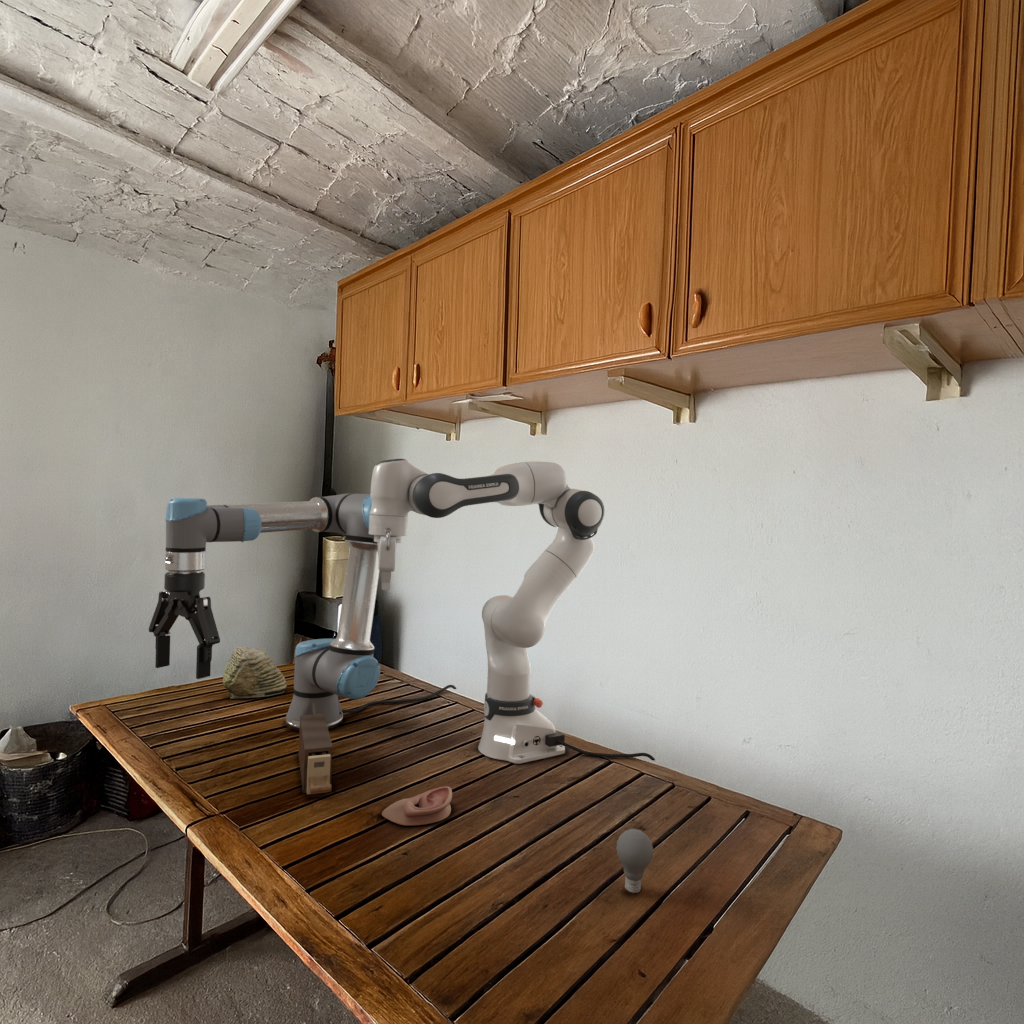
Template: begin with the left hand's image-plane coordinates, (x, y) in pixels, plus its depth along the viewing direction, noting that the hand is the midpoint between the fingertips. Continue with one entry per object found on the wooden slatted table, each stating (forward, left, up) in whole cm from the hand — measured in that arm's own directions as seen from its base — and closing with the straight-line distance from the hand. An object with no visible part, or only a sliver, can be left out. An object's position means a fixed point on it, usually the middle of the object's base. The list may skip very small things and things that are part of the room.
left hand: (182, 671), depth 133 cm
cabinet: (-25, +12, -25) cm, 37 cm away
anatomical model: (-28, +43, -25) cm, 57 cm away
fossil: (-44, -48, -25) cm, 70 cm away
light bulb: (-35, +89, -25) cm, 98 cm away
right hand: (-36, +21, +18) cm, 46 cm away
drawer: (-22, +17, -24) cm, 37 cm away
